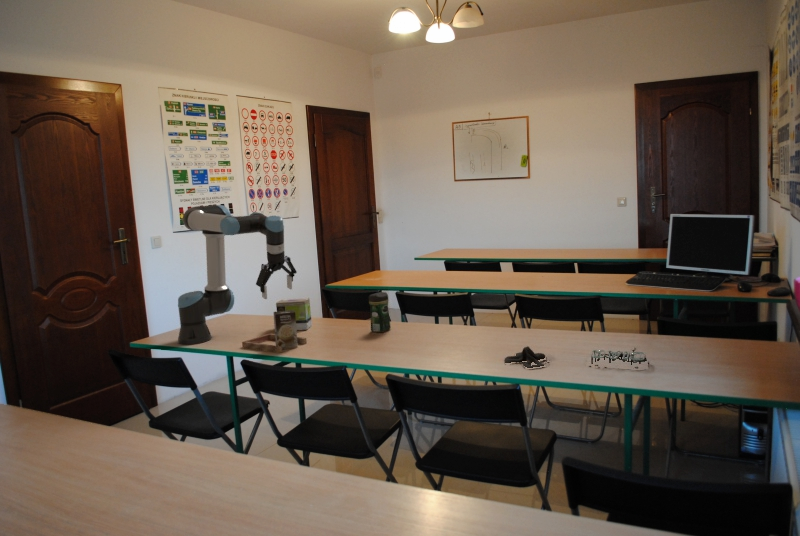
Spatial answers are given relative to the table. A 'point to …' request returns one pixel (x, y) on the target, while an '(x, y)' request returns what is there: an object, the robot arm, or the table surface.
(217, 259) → the robot arm
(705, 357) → the table surface
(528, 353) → the cloth
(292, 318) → the coffee box
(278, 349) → the brown wooden flat frame
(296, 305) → the tea box
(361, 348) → the table surface
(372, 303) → the coffee jar
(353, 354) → the table surface
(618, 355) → the neon sign
